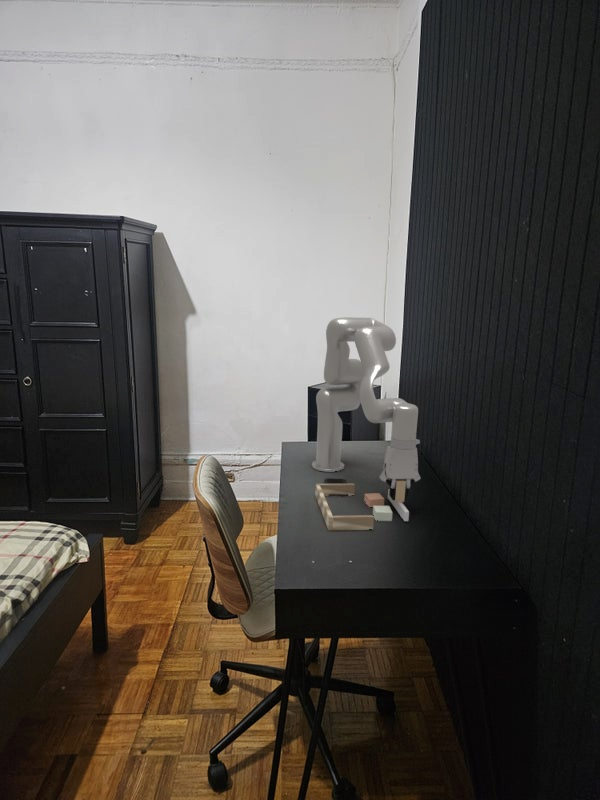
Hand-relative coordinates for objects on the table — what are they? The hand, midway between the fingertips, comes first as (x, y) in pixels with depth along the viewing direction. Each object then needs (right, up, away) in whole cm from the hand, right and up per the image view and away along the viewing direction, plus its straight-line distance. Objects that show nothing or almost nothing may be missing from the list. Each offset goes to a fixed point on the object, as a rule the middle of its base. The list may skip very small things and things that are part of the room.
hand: (398, 498), depth 170 cm
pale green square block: (-6, -5, -5) cm, 9 cm away
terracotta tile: (-7, -3, +5) cm, 9 cm away
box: (-17, -4, -1) cm, 18 cm away
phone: (-19, 0, +17) cm, 25 cm away
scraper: (0, -4, +1) cm, 4 cm away
